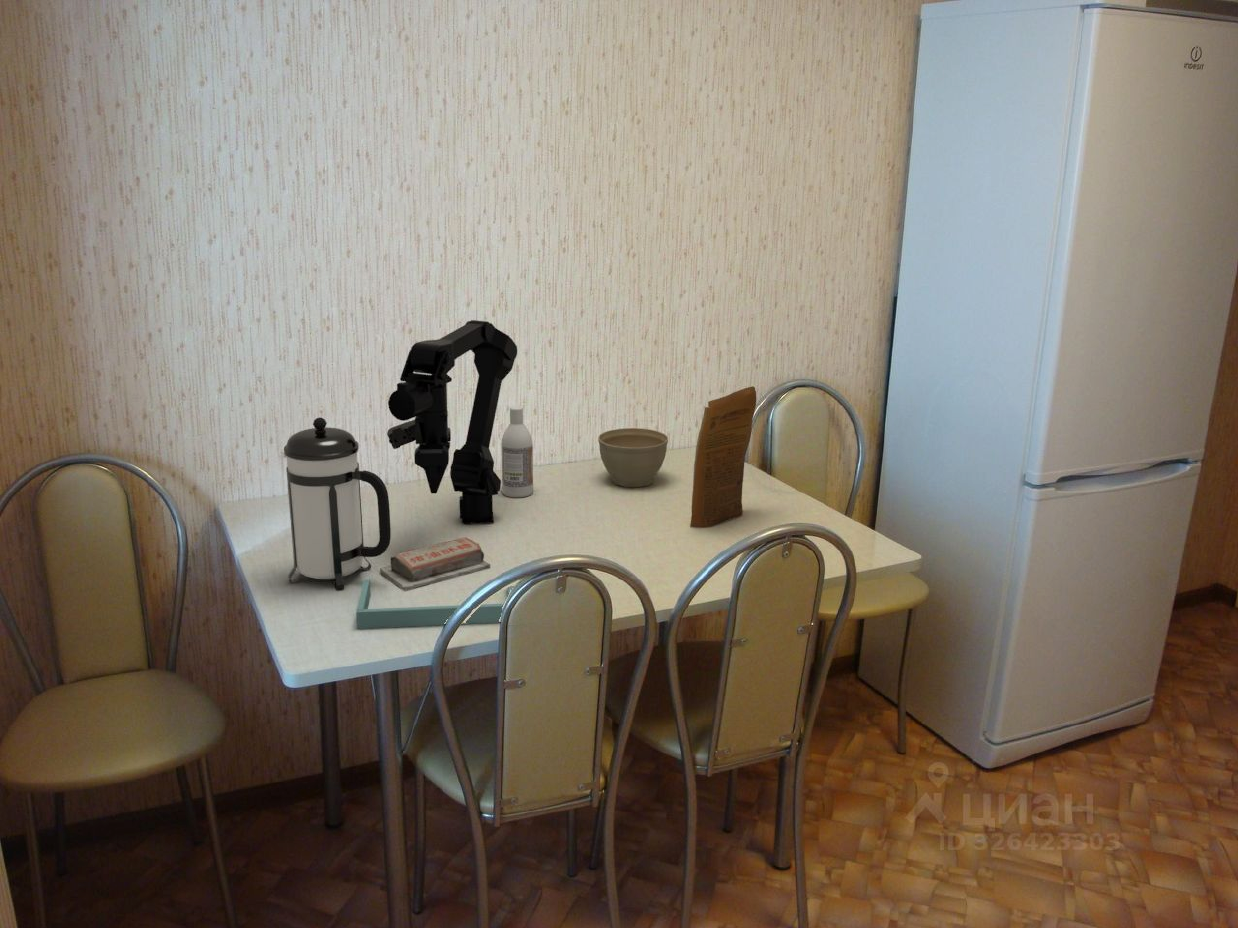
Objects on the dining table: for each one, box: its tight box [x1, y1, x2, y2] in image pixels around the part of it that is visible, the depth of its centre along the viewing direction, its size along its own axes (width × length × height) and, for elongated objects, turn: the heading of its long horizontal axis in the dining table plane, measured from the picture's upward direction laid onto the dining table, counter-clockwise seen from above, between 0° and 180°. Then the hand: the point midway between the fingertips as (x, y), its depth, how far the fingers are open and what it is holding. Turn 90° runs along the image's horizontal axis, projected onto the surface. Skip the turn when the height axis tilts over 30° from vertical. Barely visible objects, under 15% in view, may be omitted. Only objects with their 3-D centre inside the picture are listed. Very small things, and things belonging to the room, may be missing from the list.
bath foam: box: [500, 405, 534, 499], centre depth 242 cm, size 7×7×20 cm
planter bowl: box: [597, 427, 669, 488], centre depth 253 cm, size 16×16×11 cm
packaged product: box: [379, 536, 491, 592], centre depth 202 cm, size 18×5×10 cm
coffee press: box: [283, 417, 392, 591], centre depth 195 cm, size 17×16×30 cm
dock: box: [355, 578, 515, 630], centre depth 186 cm, size 26×14×3 cm, turn 97°
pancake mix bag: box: [689, 386, 757, 528], centre depth 227 cm, size 7×19×28 cm, turn 134°
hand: (434, 486), depth 211 cm, fingers open, 8 cm apart
